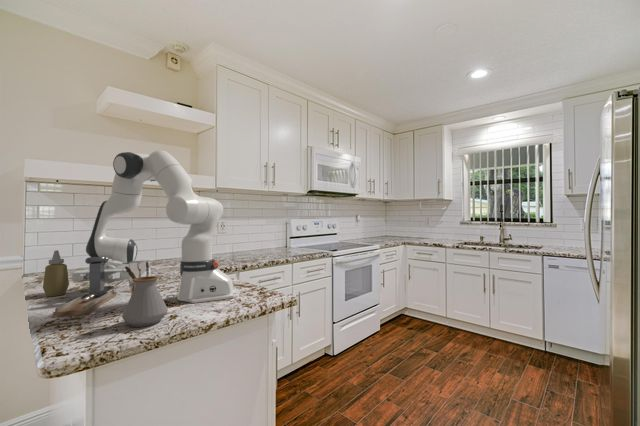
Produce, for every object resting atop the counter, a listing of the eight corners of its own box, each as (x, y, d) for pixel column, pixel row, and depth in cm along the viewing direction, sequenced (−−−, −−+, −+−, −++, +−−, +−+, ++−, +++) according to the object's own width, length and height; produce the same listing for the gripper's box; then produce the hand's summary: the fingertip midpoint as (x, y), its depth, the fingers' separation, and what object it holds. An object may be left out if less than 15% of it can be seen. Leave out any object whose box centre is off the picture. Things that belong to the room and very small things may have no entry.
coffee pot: (174, 320, 88) (174, 270, 88) (131, 332, 79) (131, 276, 79) (144, 308, 101) (144, 263, 102) (104, 317, 92) (104, 268, 93)
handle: (111, 293, 116) (111, 255, 116) (97, 301, 104) (97, 259, 104) (88, 294, 113) (88, 256, 114) (72, 303, 102) (72, 260, 102)
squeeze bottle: (42, 294, 121) (43, 250, 122) (68, 291, 127) (68, 249, 127) (42, 298, 115) (42, 252, 116) (69, 294, 121) (69, 250, 121)
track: (115, 295, 118) (115, 289, 118) (86, 314, 95) (86, 306, 95) (89, 297, 116) (89, 291, 116) (52, 317, 93) (52, 309, 93)
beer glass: (140, 306, 103) (140, 263, 103) (123, 305, 104) (123, 262, 105) (155, 301, 110) (155, 260, 110) (139, 300, 111) (139, 260, 112)
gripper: (81, 265, 122) (62, 271, 109) (138, 262, 128) (126, 268, 114) (81, 281, 122) (62, 288, 108) (138, 277, 127) (126, 284, 114)
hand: (96, 277), depth 111 cm, fingers open, 8 cm apart
